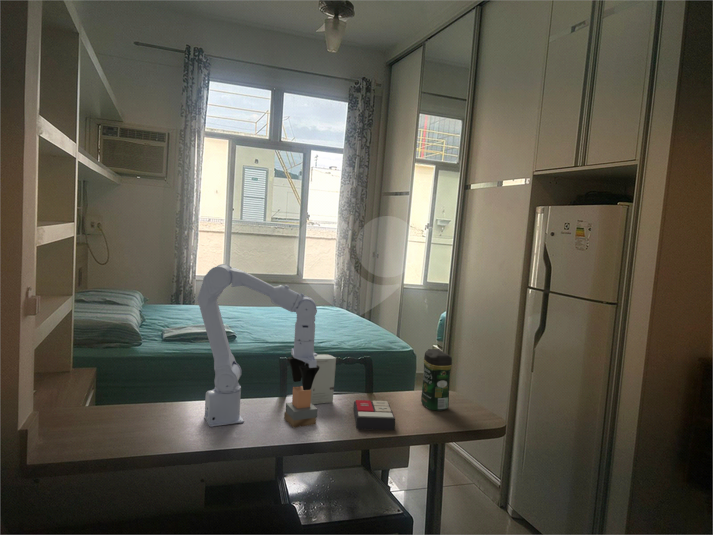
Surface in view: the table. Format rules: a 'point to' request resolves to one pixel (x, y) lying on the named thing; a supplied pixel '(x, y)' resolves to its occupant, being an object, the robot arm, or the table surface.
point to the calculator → (373, 415)
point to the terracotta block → (301, 397)
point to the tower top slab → (301, 412)
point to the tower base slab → (299, 421)
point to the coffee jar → (436, 380)
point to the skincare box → (324, 380)
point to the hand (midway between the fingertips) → (301, 385)
